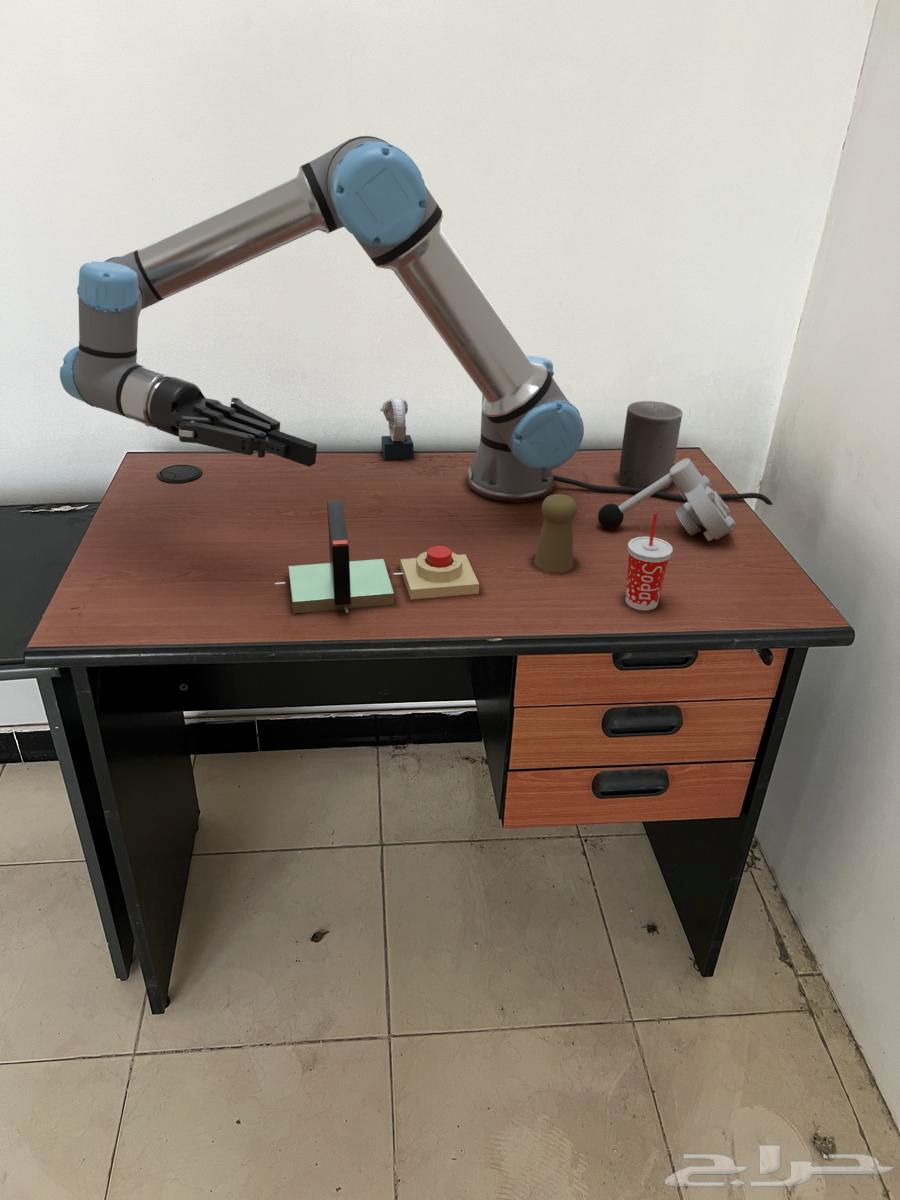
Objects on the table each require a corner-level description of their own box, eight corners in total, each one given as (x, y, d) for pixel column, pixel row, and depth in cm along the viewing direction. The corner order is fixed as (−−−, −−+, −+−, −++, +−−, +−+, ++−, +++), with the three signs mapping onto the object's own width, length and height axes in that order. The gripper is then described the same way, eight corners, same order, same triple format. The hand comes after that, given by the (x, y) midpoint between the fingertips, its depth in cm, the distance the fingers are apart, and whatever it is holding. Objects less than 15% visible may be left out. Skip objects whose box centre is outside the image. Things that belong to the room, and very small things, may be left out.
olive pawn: (547, 576, 134) (554, 509, 128) (526, 558, 138) (532, 493, 132) (581, 567, 136) (589, 502, 130) (559, 550, 141) (566, 486, 135)
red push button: (448, 555, 132) (449, 544, 131) (453, 567, 129) (454, 556, 128) (424, 557, 131) (424, 546, 130) (429, 569, 128) (429, 558, 127)
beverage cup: (616, 608, 126) (628, 519, 119) (624, 587, 131) (637, 501, 124) (659, 617, 125) (675, 527, 117) (666, 596, 130) (681, 508, 122)
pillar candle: (613, 487, 162) (623, 407, 154) (623, 467, 170) (633, 390, 162) (667, 496, 159) (680, 415, 151) (674, 475, 167) (688, 397, 159)
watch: (408, 446, 176) (408, 391, 170) (414, 462, 169) (415, 406, 163) (379, 447, 175) (378, 393, 169) (385, 463, 168) (384, 407, 162)
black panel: (329, 555, 133) (327, 499, 128) (344, 554, 133) (342, 498, 128) (334, 605, 121) (331, 544, 116) (351, 604, 122) (348, 544, 117)
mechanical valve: (743, 535, 140) (691, 461, 136) (645, 594, 147) (593, 525, 142) (733, 512, 149) (684, 441, 145) (641, 568, 156) (592, 502, 152)
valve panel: (393, 556, 138) (393, 543, 136) (413, 619, 123) (414, 606, 121) (273, 565, 134) (272, 552, 133) (279, 631, 119) (278, 618, 118)
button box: (465, 563, 136) (466, 543, 134) (478, 593, 129) (480, 572, 127) (400, 568, 134) (400, 548, 132) (410, 599, 127) (410, 578, 125)
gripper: (194, 414, 130) (335, 465, 124) (133, 442, 120) (284, 499, 114) (194, 364, 126) (340, 414, 120) (131, 389, 115) (288, 445, 110)
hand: (313, 455), depth 117 cm, fingers closed
